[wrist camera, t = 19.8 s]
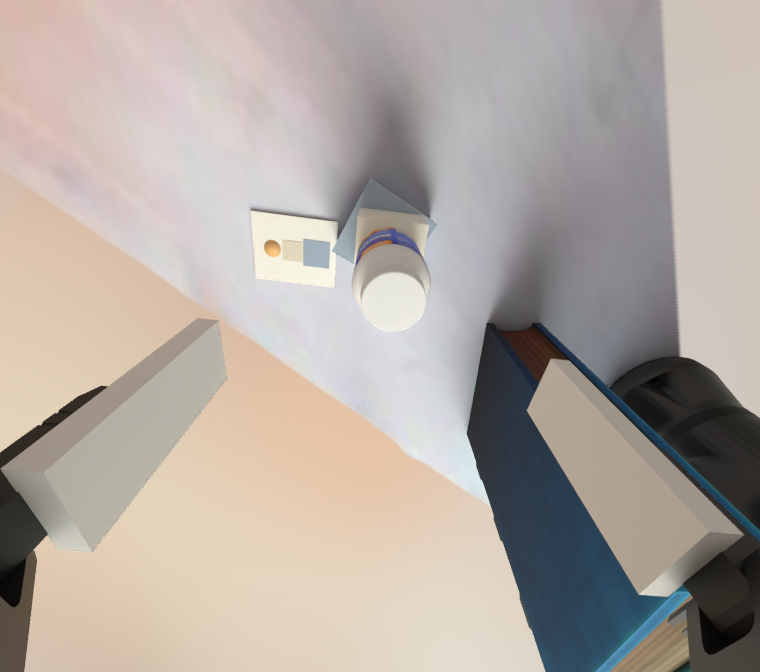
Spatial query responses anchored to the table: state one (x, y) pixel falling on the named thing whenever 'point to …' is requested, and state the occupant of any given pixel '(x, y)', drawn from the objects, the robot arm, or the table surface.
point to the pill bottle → (390, 279)
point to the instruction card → (294, 248)
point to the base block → (373, 199)
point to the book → (565, 524)
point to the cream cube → (381, 218)
